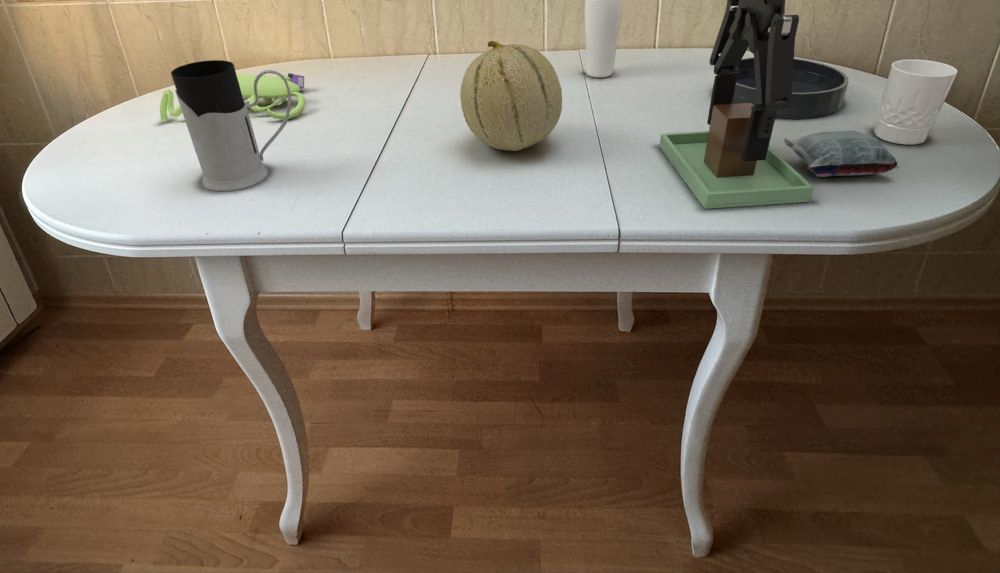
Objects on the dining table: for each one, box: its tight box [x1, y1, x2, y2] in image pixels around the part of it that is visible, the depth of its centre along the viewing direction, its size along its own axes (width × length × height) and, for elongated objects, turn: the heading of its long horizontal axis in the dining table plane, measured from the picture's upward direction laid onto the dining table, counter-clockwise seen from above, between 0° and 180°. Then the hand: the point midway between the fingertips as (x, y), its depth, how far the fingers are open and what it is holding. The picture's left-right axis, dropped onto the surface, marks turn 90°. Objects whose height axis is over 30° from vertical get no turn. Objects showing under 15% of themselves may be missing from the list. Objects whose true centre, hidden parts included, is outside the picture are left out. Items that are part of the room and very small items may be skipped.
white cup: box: [873, 58, 958, 146], centre depth 89 cm, size 8×8×10 cm
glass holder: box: [170, 59, 292, 192], centre depth 84 cm, size 9×14×15 cm, turn 111°
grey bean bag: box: [783, 130, 900, 178], centre depth 82 cm, size 9×12×5 cm
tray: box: [659, 130, 815, 210], centre depth 83 cm, size 19×13×2 cm
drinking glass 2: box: [584, 0, 624, 79], centre depth 116 cm, size 7×7×15 cm
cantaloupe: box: [459, 40, 563, 152], centre depth 89 cm, size 15×15×15 cm
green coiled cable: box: [159, 72, 306, 123], centre depth 111 cm, size 18×27×6 cm
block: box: [704, 103, 757, 178], centre depth 81 cm, size 5×5×8 cm
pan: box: [730, 56, 849, 120], centre depth 106 cm, size 20×20×4 cm
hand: (734, 140), depth 81 cm, fingers open, 11 cm apart
